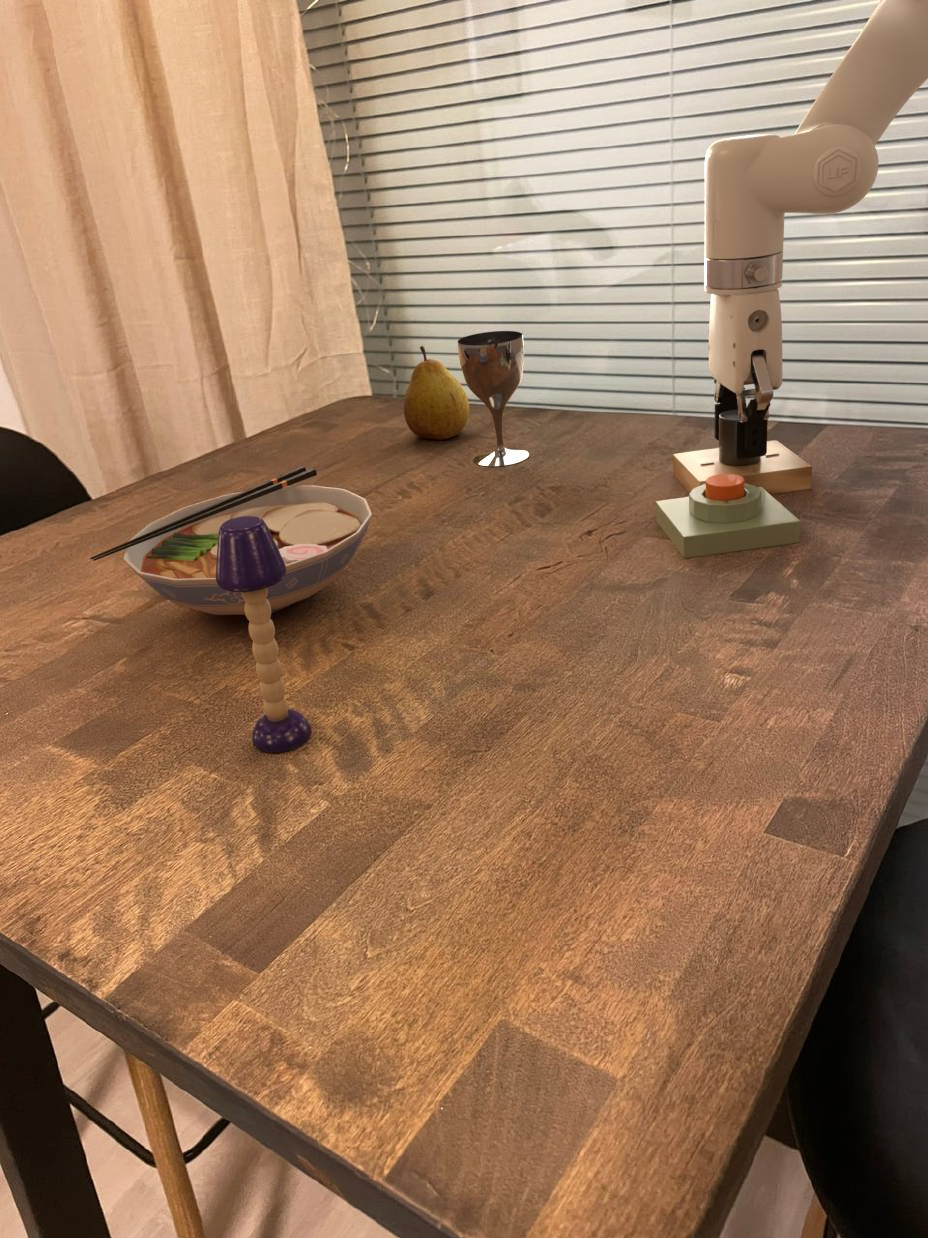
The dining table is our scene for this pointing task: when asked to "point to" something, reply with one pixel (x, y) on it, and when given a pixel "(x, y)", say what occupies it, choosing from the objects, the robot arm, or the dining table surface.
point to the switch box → (726, 522)
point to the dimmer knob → (730, 440)
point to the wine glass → (494, 383)
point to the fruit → (435, 402)
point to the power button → (725, 487)
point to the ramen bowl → (297, 519)
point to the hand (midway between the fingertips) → (739, 445)
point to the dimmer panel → (746, 469)
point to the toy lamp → (260, 624)
